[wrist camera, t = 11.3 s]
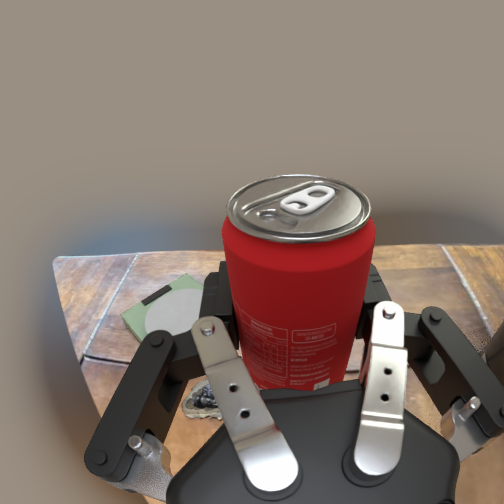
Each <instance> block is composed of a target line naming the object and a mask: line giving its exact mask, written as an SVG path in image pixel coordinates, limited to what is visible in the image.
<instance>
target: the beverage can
mask: <svg viewBox="0 0 504 504" xmlns="http://www.w3.org/2000/svg"><path fill="white" fill-rule="evenodd" d="M226 213H227V217H226V219H225V221H224V224H223V227H222V238H223V244H224V251H225V257H226V263H227V270H228V276H229V282H230V288H231V294H232V300H233V306H234V312H235V317H236V323H237V329H238V335H239V340H240V346H241V352H242V357H243V361H244V363H245V365H246V367H247V369H248V371H249V373H250V375H251V377H252V379H253V381H254V383H255V385H256V387H257V389H258V391H259V393H260V390H261V389H277V388H290V389H298V390H306V391H313V390H316V389H319V388H322V387H325V386H327V385H330V384H333V383H335V382H342V381H343V378H344V375H345V371H346V368H347V364H348V361H349V357H350V353H351V350H352V346H353V342H354V338H355V334H356V330H357V326H358V322H359V318H360V314H361V309H362V305H363V300H364V295H365V291H366V286H367V281H368V276H369V271H370V265H371V260H372V254H373V248H374V242H375V226H374V223H373V221H372V219H371V217H370V215H371V204H370V202H369V200H368V198H367V197H366V196H365V195H364V194H363V193H362V192H361V191H360V190H358V189H357V188H355V187H353V186H352V185H350V184H347V183H345V182H342V181H340V180H336V179H332V178H328V177H323V176H316V175H302V174H300V175H299V174H298V175H279V176H274V177H269V178H264V179H261V180H258V181H255V182H252V183H249V184H247V185H245V186H243V187H242V188H240V189H238V190H237V191H236V192H235V193H234V194H233V195H232V196H231V197H230V198H229V200H228V202H227V205H226Z"/></svg>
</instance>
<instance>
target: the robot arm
mask: <svg viewBox="0 0 504 504" xmlns="http://www.w3.org/2000/svg"><path fill="white" fill-rule="evenodd" d="M203 288H204V289H203V294H202V295H203V296H202V300H201V306H200V312H199V319H198V320H197V321H196V322H195V323H194V324H193V325H192V328H191V329H190V330H188V331H186V332H184V333H180V334H177V335H173V336H172V334H171V333H170V332H168V331H166V330H155V331H152V332H150V333H149V334H147V335H146V336H145V338H144V339H143V341H142V343H141V344H140V346H139V348H138V350H137V352H136V353H135V355H134V357H133V359H132V361H131V363H130V365H129V366H128V368H127V370H126V372H125V374H124V376H123V378H122V380H121V381H120V383H119V385H118V387H117V389H116V391H115V393H114V395H113V397H112V399H111V401H110V403H109V405H108V407H107V409H106V410H105V412H104V414H103V416H102V418H101V420H100V423H99V424H98V426H97V429H96V431H95V433H94V435H93V437H92V439H91V441H90V443H89V445H88V447H87V449H86V451H85V454H84V462H85V465H86V467H87V469H88V470H89V471H90V472H91V473H93V474H94V475H96V476H98V477H100V478H101V479H102V480H104V481H106V482H107V483H110V484H111V485H114V486H116V487H118V488H120V489H124V490H126V491H128V492H131V493H137V492H138V493H141V494H143V495H146V496H149V497H151V498H154V499H157V500H159V501H162V502H165V503H166V504H455V488H456V483H457V479H458V475H459V470H460V462H462V461H463V460H464V459H466V458H467V457H468V456H470V455H472V454H475V453H477V452H479V451H480V450H481V449H483V448H484V447H486V446H487V445H488V444H490V443H491V442H492V441H494V440H495V439H496V438H497V437H499V436H500V435H501V434H502V433H504V320H503V322H502V323H501V325H500V327H499V328H498V330H497V331H496V333H495V335H494V336H493V338H492V339H491V341H490V342H489V344H488V345H487V347H486V348H485V350H484V351H483V352H482V353H481V355H480V354H479V353H478V352H477V350H476V349H475V348H474V347H473V345H472V344H471V343H470V342H469V340H468V339H467V338H466V337H465V335H464V334H463V333H462V332H461V330H460V329H459V328H458V327H457V325H456V324H455V323H454V322H453V321H452V319H451V318H450V317H449V316H448V315H447V314H446V312H445V311H443V310H442V309H440V308H438V307H434V306H431V307H427V308H425V309H424V310H423V311H422V313H421V314H414V313H407V312H404V311H403V309H402V307H401V306H400V305H399V304H397V303H395V302H392V300H391V298H390V296H389V294H388V292H387V289H386V287H385V285H384V283H383V281H382V279H381V277H380V275H379V273H378V271H377V269H376V267H375V266H374V265H373V264H371V265H370V271H369V276H368V281H367V286H366V291H365V295H364V300H363V305H362V309H361V314H360V318H359V322H358V326H357V330H356V334H355V338H356V339H362V338H363V339H364V342H365V344H364V347H363V352H362V359H361V365H360V371H359V377H358V379H355V380H348V381H342V382H335V383H333V384H330V385H327V386H325V387H322V388H319V389H316V390H313V391H306V390H298V389H290V388H277V389H261V390H260V393H259V391H258V389H257V387H256V385H255V383H254V381H253V379H252V377H251V375H250V373H249V371H248V369H247V367H246V365H245V363H244V361H243V359H242V357H241V356H239V355H238V353H237V351H236V350H239V335H238V329H237V323H236V317H235V312H234V306H233V300H232V294H231V288H230V282H229V276H228V270H227V263H226V261H220V266H219V272H211V273H209V275H208V276H207V277H206V279H205V281H204V287H203ZM437 353H438V354H437ZM442 360H443V361H442ZM407 362H408V363H409V365H410V366H411V368H412V369H413V371H414V372H415V374H416V376H417V377H418V379H419V380H420V382H421V383H422V385H423V386H424V388H425V390H426V391H427V393H428V394H429V396H430V398H431V399H432V401H433V402H434V404H435V406H436V407H437V409H438V411H439V412H440V414H441V415H442V419H441V423H440V424H441V434H442V435H443V437H442V436H441V435H440V434H438V433H437V432H436V431H434V430H433V429H432V428H430V427H429V426H427V425H426V424H425V423H423V422H422V421H421V420H419V419H418V418H417V417H415V416H414V415H413V414H411V413H410V412H409V411H407V410H406V409H405V408H404V403H405V392H406V377H407ZM203 375H206V376H207V379H208V382H209V385H210V387H211V390H212V393H213V395H214V398H215V400H216V403H217V406H218V408H219V411H220V413H221V416H222V418H223V421H224V423H223V424H222V425H221V426H220V428H219V429H218V430H217V431H216V432H215V433H214V434H213V435H212V436H211V438H210V439H209V440H208V441H207V442H206V443H205V444H204V445H203V446H202V447H201V448H200V450H199V451H198V452H197V453H196V454H195V455H194V456H193V457H192V458H191V459H190V460H189V461H188V462H187V463H186V464H185V465H184V466H183V467H182V468H181V469H180V471H179V472H178V473H177V474H176V475H175V476H173V475H172V473H171V471H170V461H171V455H170V452H169V450H168V449H167V448H166V447H165V446H164V445H163V444H164V441H165V439H166V436H167V433H168V431H169V428H170V426H171V423H172V421H173V418H174V416H175V413H176V411H177V408H178V406H179V403H180V401H181V398H182V396H183V393H184V391H185V388H186V386H187V383H188V381H189V380H190V379H193V378H197V377H200V376H203Z"/></svg>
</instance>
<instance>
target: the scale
mask: <svg viewBox="0 0 504 504" xmlns="http://www.w3.org/2000/svg"><path fill="white" fill-rule="evenodd" d="M203 287H204V286H203V285H202V284H201V283H199V282H198V281H196V280H195V279H194V278H192V277H191V276H189V275H188V274H187V273H186V274H184V275H183V276H181V277H180V278H178V279H176V280H175V281H173V282H172V283H170V284H168V285H166V286H165V287H163V288H161V289H160V290H158V291H157V292H155V293H153V294H152V295H150V296H149V297H147V298H145V299H144V300H142V301H141V302H140V303H138V304H136V305H135V306H133V307H132V308H130V309H129V310H127V311H125V312H124V313H122V314H121V317H122V319H123V321H124V323H125V324H126V326H127V327H128V328H129V330H130V331H131V332H132V333H133V335H134V336H135V337H136V338H137V339H138V341H139V342H140V343H142V341H143V339H144V338H145V336H146V335H147V334H149V333H150V332H152V331H155V330H166V331H168V332H170V333H171V334H172V336H173V335H177V334H180V333H184V332H186V331H188V330H190V329H191V328H192V325H193V324H194V323H195V322H196V321H197V320H198V319H199V312H200V306H201V300H202V296H203V295H202V294H203V289H204V288H203Z"/></svg>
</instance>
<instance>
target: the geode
mask: <svg viewBox="0 0 504 504" xmlns="http://www.w3.org/2000/svg"><path fill="white" fill-rule="evenodd" d="M182 409H183V410H182V411H183V412H185V415H187V416H189V418H192V419H193V417H195V418H196V417H198V418H201V419H202V418H204V417H206V416H208V415H210V416H211V417H210V418H212V416H215V417H218V419H219V420H220V419H221V417H222V416H221V413H220V411H219V408H218V406H217V403H216V400H215V398H214V395H213V393H212V390H211V387H210V385H209V382H208V379H205V380H203V381H201V382H198V383H197V384H196V386H195V388H194V387H193V388H192V392H191V393H189V396H187V397H186V399H185V400H183V404H182ZM210 418H209V419H210Z"/></svg>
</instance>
